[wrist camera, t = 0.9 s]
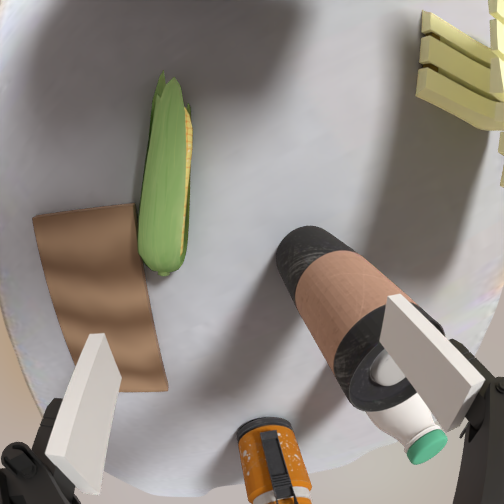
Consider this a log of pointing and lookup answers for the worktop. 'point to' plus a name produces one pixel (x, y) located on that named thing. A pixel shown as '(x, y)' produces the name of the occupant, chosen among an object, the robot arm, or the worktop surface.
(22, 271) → the worktop surface
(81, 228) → the serving board
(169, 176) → the edible corn
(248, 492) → the canister
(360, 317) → the travel mug
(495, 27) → the slatted curved stool
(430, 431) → the milk bottle
